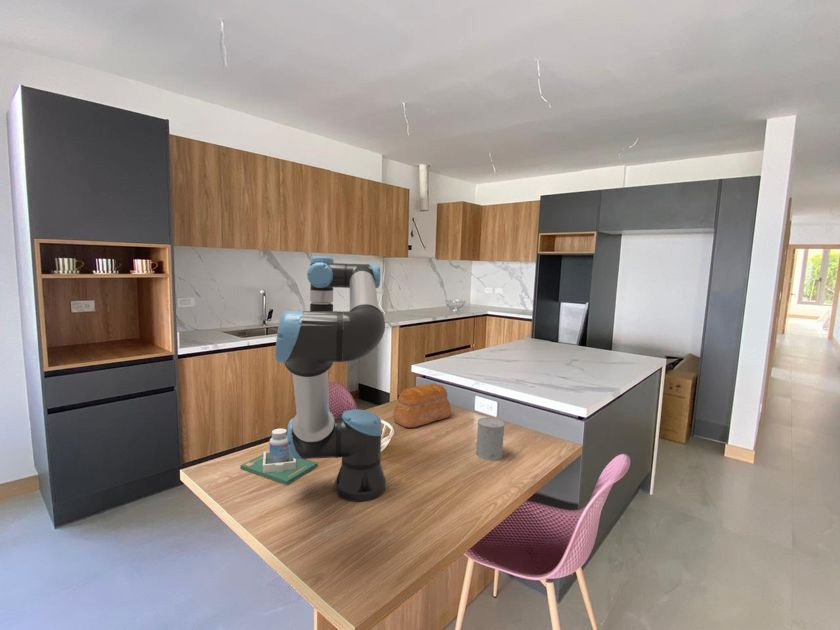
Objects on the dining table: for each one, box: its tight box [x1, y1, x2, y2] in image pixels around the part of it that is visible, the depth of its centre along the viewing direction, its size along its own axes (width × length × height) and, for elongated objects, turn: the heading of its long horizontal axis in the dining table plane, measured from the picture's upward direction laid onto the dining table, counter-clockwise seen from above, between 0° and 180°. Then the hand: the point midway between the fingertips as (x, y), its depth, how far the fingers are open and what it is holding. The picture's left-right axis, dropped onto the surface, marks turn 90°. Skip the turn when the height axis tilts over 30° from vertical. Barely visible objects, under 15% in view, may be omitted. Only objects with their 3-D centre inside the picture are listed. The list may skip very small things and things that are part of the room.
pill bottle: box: [268, 428, 289, 464], centre depth 138 cm, size 6×6×11 cm
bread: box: [393, 382, 452, 429], centre depth 186 cm, size 14×26×15 cm, turn 131°
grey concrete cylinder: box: [475, 417, 505, 461], centre depth 154 cm, size 10×10×12 cm
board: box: [240, 451, 318, 486], centre depth 139 cm, size 20×14×4 cm
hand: (320, 371), depth 144 cm, fingers closed
